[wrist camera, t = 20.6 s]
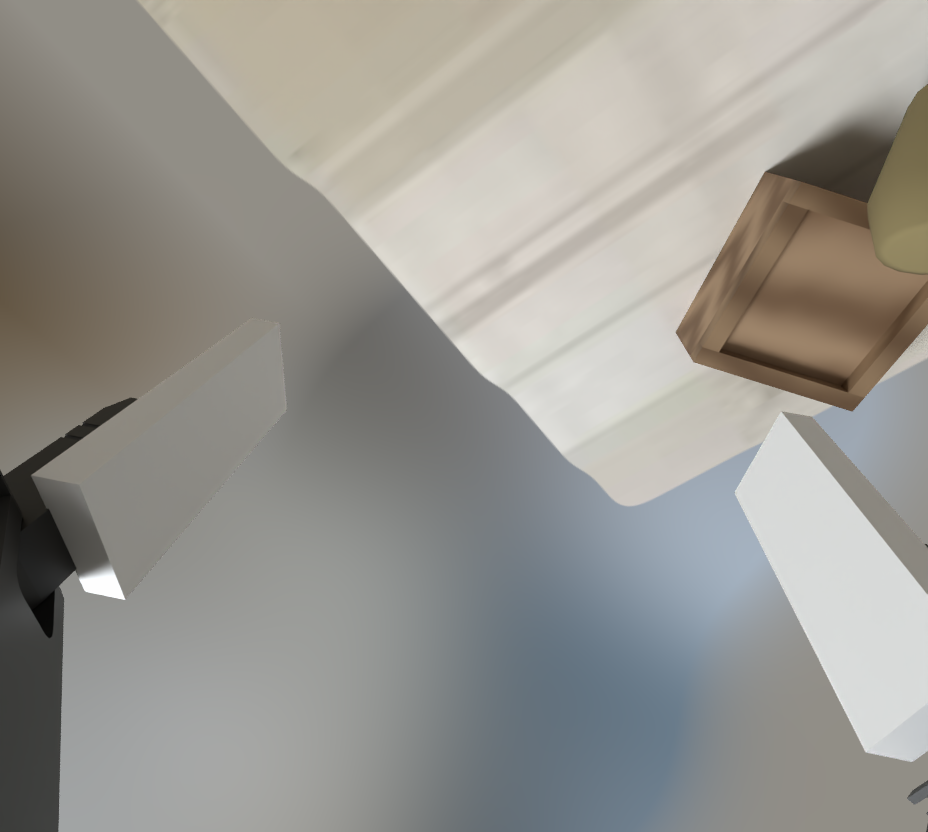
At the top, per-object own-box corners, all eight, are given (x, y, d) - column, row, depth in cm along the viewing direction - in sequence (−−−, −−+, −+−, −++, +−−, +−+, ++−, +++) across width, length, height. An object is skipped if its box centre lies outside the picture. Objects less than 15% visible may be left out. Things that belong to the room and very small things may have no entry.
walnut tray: (763, 171, 41) (801, 181, 35) (929, 225, 41) (996, 244, 35) (674, 331, 49) (693, 362, 43) (814, 374, 49) (852, 411, 43)
